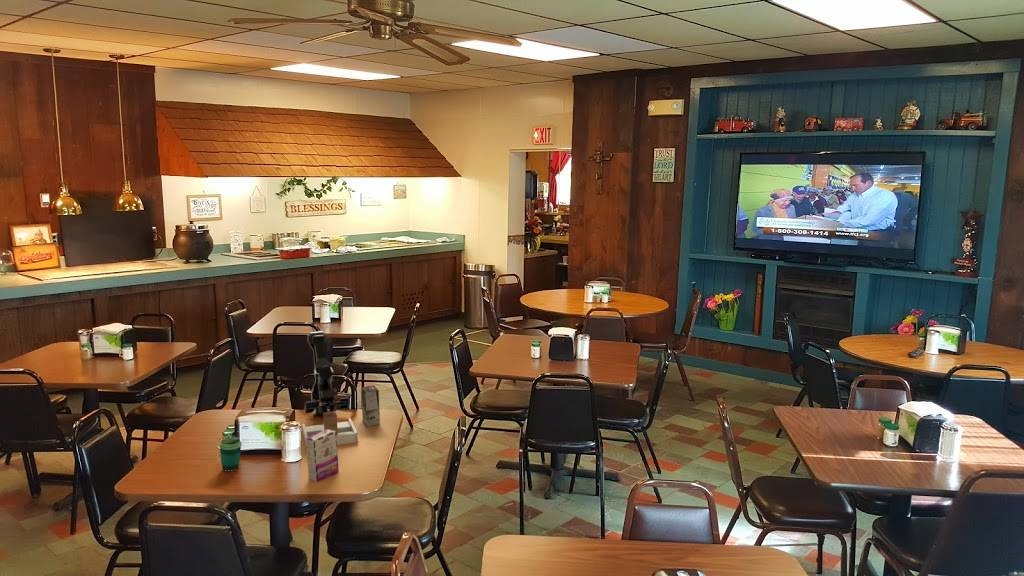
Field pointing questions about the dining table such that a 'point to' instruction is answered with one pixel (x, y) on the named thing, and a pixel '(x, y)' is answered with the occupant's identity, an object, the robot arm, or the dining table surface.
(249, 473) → the dining table surface
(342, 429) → the trap box
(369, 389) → the coffee box
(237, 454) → the cup
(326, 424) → the block
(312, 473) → the candy bar box
